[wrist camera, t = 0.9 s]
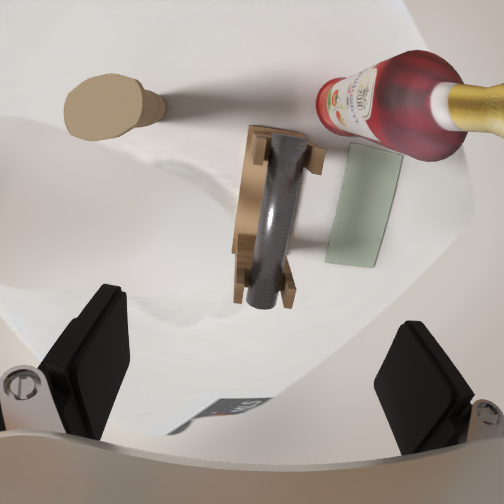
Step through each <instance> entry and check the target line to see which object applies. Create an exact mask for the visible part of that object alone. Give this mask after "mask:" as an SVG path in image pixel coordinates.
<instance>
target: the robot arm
mask: <svg viewBox="0 0 504 504" xmlns="http://www.w3.org/2000/svg"><path fill="white" fill-rule="evenodd" d="M129 362H130V349H129V335H128V319H127V296H126V293H125V292H122V291H121V287H119V286H114V285H109V284H103V285H102V286H101V287H100V288H99V290H98V291H97V292H96V293H95V295H94V296H93V297H92V299H91V300H90V301H89V303H88V304H87V305H86V306H85V308H84V309H83V310H82V312H81V313H80V315H79V316H78V317H77V318H74V319H73V320H72V321H71V322H70V323H69V324H68V326H67V327H66V328H65V330H64V331H63V332H62V334H61V335H60V337H59V338H58V339H57V341H56V342H55V344H54V345H53V346H52V348H51V349H50V351H49V352H48V353H47V355H46V356H45V358H44V359H43V361H42V362H41V364H40V365H39V367H38V368H35V367H33V366H28V365H20V366H16V367H13V368H11V369H9V370H7V371H6V372H5V373H4V374H3V375H2V376H1V378H0V504H504V415H503V413H502V411H501V410H500V409H499V407H498V406H496V405H495V404H494V403H492V402H490V401H488V400H483V399H480V400H477V401H475V402H474V404H473V405H471V403H470V401H471V400H472V398H473V397H474V395H475V394H474V393H473V391H472V390H471V388H470V387H469V385H468V384H467V382H466V381H465V380H464V378H463V377H462V375H461V374H460V372H459V371H458V370H457V368H456V367H455V366H454V364H453V363H452V361H451V360H450V358H449V357H448V356H447V354H446V353H445V352H444V350H443V349H442V348H441V346H440V345H439V344H438V343H437V341H436V340H435V338H434V337H433V336H432V334H431V333H430V332H429V330H428V329H427V328H426V326H425V325H424V324H423V323H422V322H421V321H406V322H405V323H404V324H402V325H401V326H400V327H399V329H398V331H397V334H396V336H395V338H394V340H393V343H392V345H391V347H390V349H389V351H388V354H387V356H386V358H385V360H384V362H383V364H382V366H381V368H380V370H379V372H378V374H377V376H376V378H375V380H374V389H375V391H376V394H377V396H378V398H379V401H380V403H381V405H382V408H383V410H384V412H385V415H386V417H387V420H388V422H389V425H390V427H391V429H392V432H393V435H394V437H395V440H396V442H397V445H398V447H399V449H400V452H401V455H402V456H397V457H391V458H383V459H376V460H367V461H357V462H346V463H332V464H310V465H267V464H265V465H264V464H243V463H230V462H218V461H209V460H200V459H192V458H185V457H178V456H172V455H166V454H160V453H154V452H148V451H143V450H138V449H133V448H128V447H124V446H119V445H115V444H111V443H107V442H102V441H100V439H101V436H102V434H103V431H104V428H105V426H106V423H107V420H108V417H109V415H110V412H111V409H112V407H113V404H114V402H115V399H116V396H117V394H118V391H119V389H120V386H121V384H122V381H123V379H124V376H125V374H126V371H127V369H128V366H129Z"/></svg>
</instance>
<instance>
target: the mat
mask: <svg viewBox="0 0 504 504" xmlns="http://www.w3.org/2000/svg"><path fill="white" fill-rule="evenodd" d="M401 160H402V155H398V154H395V153H391V152H387V151H383V150H380V149H376V148H372V147H368V146H364V145H359V144H355V143H351V144H350V149H349V155H348V160H347V165H346V170H345V175H344V179H343V184H342V189H341V193H340V198H339V203H338V207H337V211H336V216H335V220H334V224H333V229H332V233H331V237H330V241H329V245H328V249H327V253H326V257H325V263H332V264H340V265H349V266H357V267H366V268H373V267H374V263H375V260H376V257H377V254H378V250H379V247H380V243H381V240H382V237H383V233H384V229H385V226H386V222H387V218H388V215H389V211H390V207H391V203H392V199H393V195H394V191H395V187H396V183H397V178H398V174H399V169H400V165H401Z"/></svg>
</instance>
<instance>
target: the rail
mask: <svg viewBox="0 0 504 504" xmlns="http://www.w3.org/2000/svg"><path fill="white" fill-rule="evenodd" d="M307 141H308V139H306V138H302V137H297V136H291V135H285V134H279V133H272V140H271V146H270V152H269V159H268V165H267V171H266V178H265V184H264V190H263V197H262V203H261V209H260V215H259V222H258V228H257V234H256V241H255V247H254V253H253V260H252V266H251V272H250V278H249V285H248V291H247V297H246V301H247V303H248V304H249V305H250V306H252V307H254V308H257V309H264V310H265V309H271V308H273V307H274V306H275V305H276V301H277V296H278V292H279V287H280V282H281V277H282V273H283V268H284V263H285V258H286V253H287V248H288V243H289V238H290V233H291V228H292V223H293V218H294V213H295V207H296V202H297V197H298V191H299V186H300V181H301V175H302V170H303V164H304V159H305V153H306V147H307Z"/></svg>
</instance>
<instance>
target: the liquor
mask: <svg viewBox="0 0 504 504" xmlns="http://www.w3.org/2000/svg"><path fill="white" fill-rule="evenodd" d="M316 110H317V114H318V117H319V119H320V121H321V122H322V124H323V125H324V126H325V127H326V128H327V129H328V130H330V131H331V132H333V133H335V134H338V135H341V136H353V135H356V136H359V137H362V138H365V139H368V140H370V141H372V142H375V143H377V144H379V145H382V146H385V147H387V148H390V149H392V150H395V151H398V152H401V153H403V154H406V155H408V156H410V157H413V158H415V159H417V160H421V161H426V162H434V161H440V160H443V159H446V158H447V157H449V156H451V155H452V154H453V153H455V152H456V151H457V150H458V149H459V147H460V146H461V145H462V143H463V142H464V140H465V137H466V135H467V133H468V132H469V131H470V132H487V133H493V134H496V135H498V136H500V137H502V138H504V83H503V84H499V85H496V86H492V87H489V88H486V87H481V86H474V85H467V84H464V83H463V81H462V79H461V78H460V76H459V74H458V73H457V72H456V71H455V69H454V68H453V67H452V66H451V65H450V64H449V63H448V62H447V61H445V60H444V59H443V58H441V57H439V56H438V55H436V54H433V53H431V52H428V51H422V50H413V51H407V52H405V53H402V54H400V55H397V56H395V57H393V58H390V59H388V60H385V61H383V62H380V63H378V64H375V65H373V66H371V67H369V68H367V69H365V70H363V71H361V72H359V73H357V74H355V75H353V76H351V77H349V78H345V77H344V78H335V79H332V80H330V81H328V82H327V83H326V84H324V85H323V87H322V88H321V89H320V91H319V93H318V95H317V99H316Z"/></svg>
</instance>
